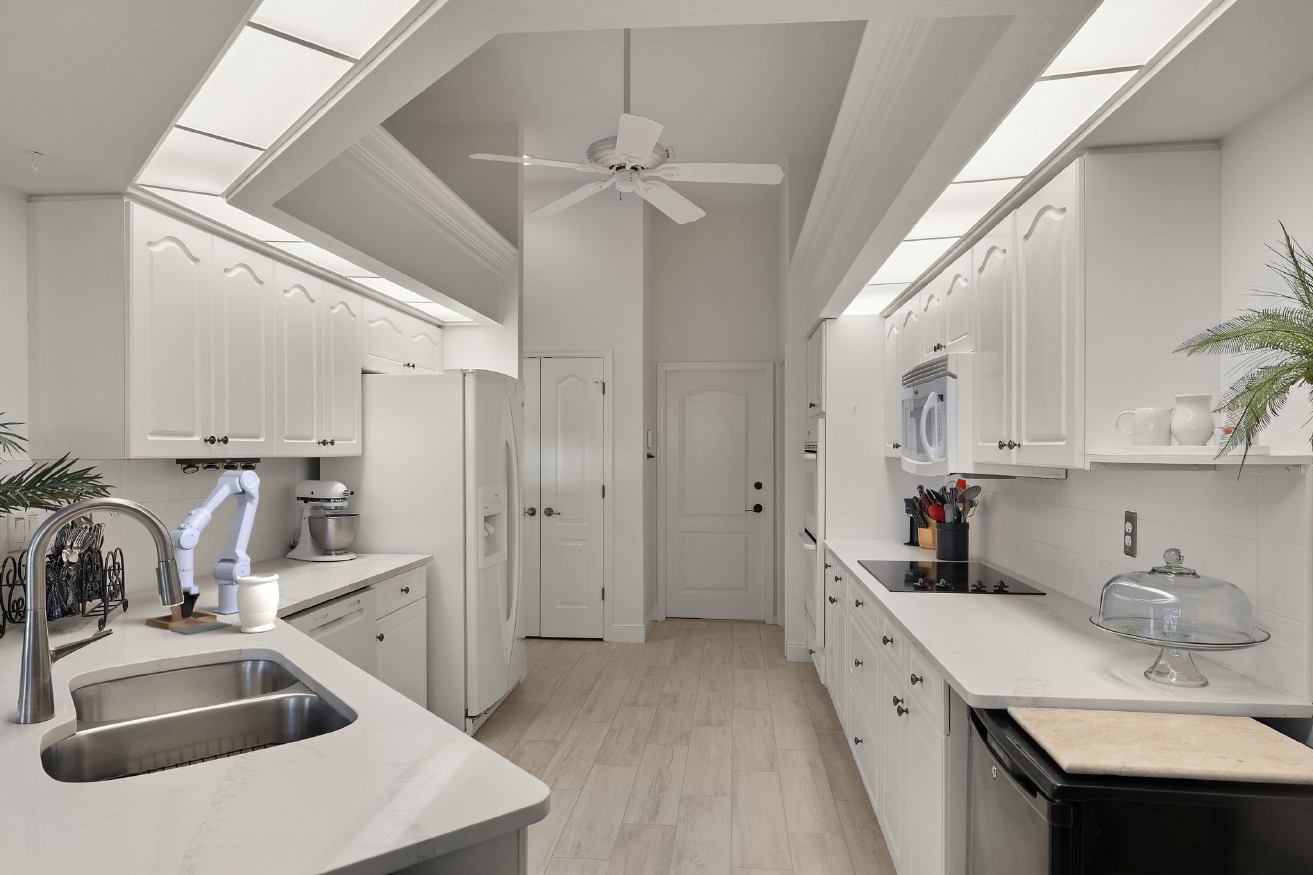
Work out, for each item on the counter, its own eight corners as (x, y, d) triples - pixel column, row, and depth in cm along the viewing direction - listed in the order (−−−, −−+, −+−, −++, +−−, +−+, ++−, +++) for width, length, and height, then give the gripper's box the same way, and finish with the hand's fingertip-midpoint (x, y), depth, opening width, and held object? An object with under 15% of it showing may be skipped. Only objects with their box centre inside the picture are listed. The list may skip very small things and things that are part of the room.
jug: (177, 624, 213) (177, 600, 213) (168, 622, 216) (168, 598, 216) (199, 620, 218) (199, 596, 218) (190, 618, 221) (190, 595, 221)
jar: (227, 633, 203) (227, 578, 203) (257, 624, 213) (257, 572, 213) (258, 635, 200) (258, 579, 200) (287, 626, 210) (287, 573, 210)
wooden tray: (193, 615, 225) (193, 610, 225) (216, 620, 219) (216, 615, 219) (146, 624, 214) (146, 618, 214) (168, 629, 208) (168, 624, 208)
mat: (215, 622, 216) (215, 620, 216) (231, 625, 212) (231, 624, 212) (170, 631, 206) (170, 629, 206) (187, 634, 201) (187, 633, 201)
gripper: (154, 570, 217) (154, 616, 217) (179, 573, 210) (179, 622, 209) (180, 566, 223) (180, 611, 223) (205, 570, 216) (205, 617, 215)
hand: (181, 616), depth 217 cm, fingers closed on jug, 5 cm apart
